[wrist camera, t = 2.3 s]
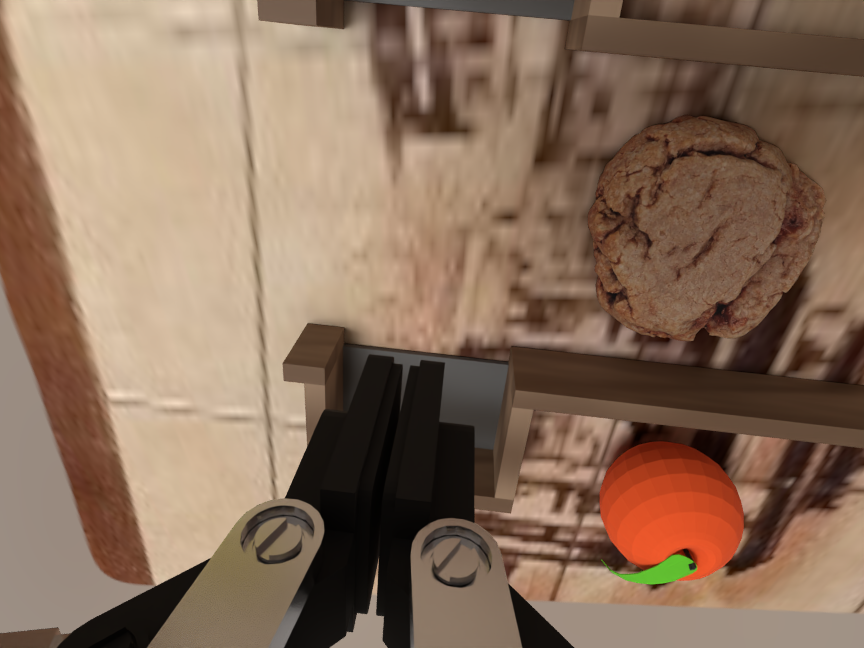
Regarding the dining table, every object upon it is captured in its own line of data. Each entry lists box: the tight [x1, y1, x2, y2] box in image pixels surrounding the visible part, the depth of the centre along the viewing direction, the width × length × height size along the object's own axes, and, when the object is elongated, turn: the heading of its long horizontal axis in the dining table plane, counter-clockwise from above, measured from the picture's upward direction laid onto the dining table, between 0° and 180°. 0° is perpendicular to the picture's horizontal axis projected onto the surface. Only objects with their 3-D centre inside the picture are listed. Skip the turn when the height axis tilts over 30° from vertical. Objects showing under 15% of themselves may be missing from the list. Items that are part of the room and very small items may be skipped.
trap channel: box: [257, 0, 864, 513], centre depth 21 cm, size 30×43×6 cm
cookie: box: [588, 115, 826, 341], centre depth 23 cm, size 10×11×3 cm
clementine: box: [600, 441, 744, 584], centre depth 28 cm, size 8×7×7 cm
